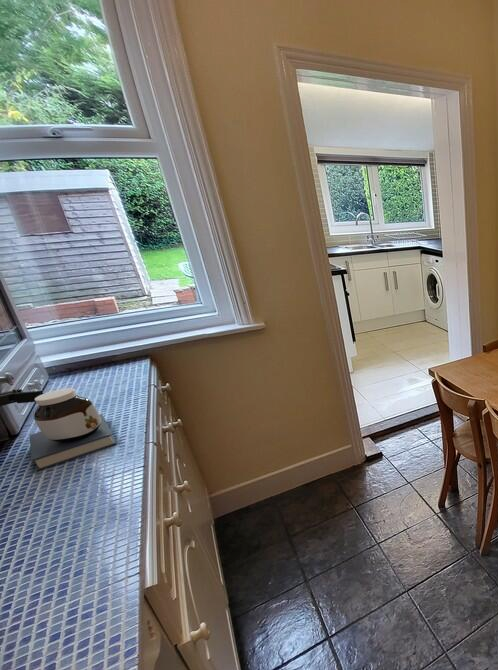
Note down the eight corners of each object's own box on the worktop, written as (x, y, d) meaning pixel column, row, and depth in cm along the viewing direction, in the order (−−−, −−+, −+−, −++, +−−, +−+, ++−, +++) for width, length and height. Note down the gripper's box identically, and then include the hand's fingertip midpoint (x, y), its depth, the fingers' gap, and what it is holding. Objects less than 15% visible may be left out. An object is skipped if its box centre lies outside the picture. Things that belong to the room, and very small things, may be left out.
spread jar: (71, 446, 99) (45, 403, 94) (29, 446, 100) (2, 404, 95) (118, 421, 109) (97, 381, 105) (80, 421, 110) (58, 382, 106)
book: (35, 445, 106) (29, 435, 105) (107, 423, 116) (102, 413, 114) (38, 470, 95) (30, 460, 94) (116, 444, 104) (111, 434, 103)
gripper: (-14, 406, 111) (69, 399, 113) (-137, 459, 89) (-31, 449, 90) (-31, 381, 108) (55, 374, 110) (-163, 429, 86) (-52, 419, 87)
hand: (16, 407), depth 100 cm, fingers open, 13 cm apart
